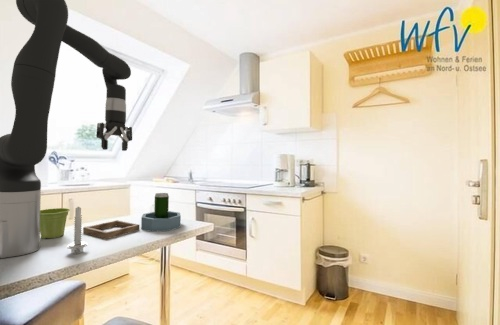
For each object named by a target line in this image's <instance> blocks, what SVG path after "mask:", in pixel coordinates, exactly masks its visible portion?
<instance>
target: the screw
mask: <svg viewBox="0 0 500 325" xmlns="http://www.w3.org/2000/svg"><path fill="white" fill-rule="evenodd" d="M74 211H75V216H74V219H73V220H74V223H73V224H74V225H73V227H74V234H73V239H74V240H73V242H71V243H69V244H68V245H67V246H66V248H67V249H70V251H71V254H73V255H76V254H77V255H78V254H81V253H84V248H86V247H88V245H89V244H88V243H87V242H86V241H82V233H83V231H82V230H83V228H82V220H83V219H82V216H83V215H82V208H81V207H80V206H76V207H75V210H74Z"/></svg>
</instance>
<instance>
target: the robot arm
mask: <svg viewBox="0 0 500 325" xmlns="http://www.w3.org/2000/svg"><path fill="white" fill-rule="evenodd" d="M15 3H16V7H17V10H18V12H19V13H20V14H21V16H22V17H23V18H24V19H25V20H26V21H27V22H29V23H30V24H32V25H34V29H33V32H32V33H31V35H30V37H29V39H28V40H27V41H26V42H25V44H24V45H23V47H22V48H21V49H20V51H19V52H18V54H17V55H16V57H15V60H14V62H13V66H12V67H13V68H12V73H11V80H10V81H11V82H10V86H11V87H10V88H11V92H12V98H13V100H14V101H13V102H14V105H15V107H14V108H15V114H14V120H13V121H14V122H13V124H12V129H11V132H10V133H6V134H4V135H1V136H0V259H4V258H10V257H11V258H12V257H17V256H24V255H28V254H31V253H34V252H36V251H38V250H39V249H40V247H41V246H40V244H41V235H40V210H41V199H42V198H41V190H42V181H41V179H40V178H39V177H38V176H37V173H36V165H38V164H40V162H42V161H43V160H44V158H45V157H46V154H47V150H48V123H49V115H50V111H51V103H52V97H53V92H54V87H55V81H56V76H57V74H56V72H57V66H58V60H59V56H60V50H61V46H62V42H63V43H64V44H66V45H68V46H69V47H71V48H73V49H74V50H75V51H76V52H78V53H79V54H81V55H82V56H84V58H86V59H87V60H88V61H89V62H91V63H92V64H94V65H95V66H96V67H98V68H101V69H102V77H103V80H104V84H105V87H106V100H105V107H104V108H105V111H104V112H105V115H104V116H105V117H104V118H105V119H104V121H105V123H104V122H98V123H97V125H96V138H97V139H100V140H101V146H100V147H101V149H102V150H108V148H109V147H108V145H109V143H108V142H109V140H108V139H109V138H110V137H111V136H117V137H119V138H120V139H121V141H122V143H121V151H123V152H126V151H127V150H128V148H129V146H128V145H129V144H128V143H129V142H132V141H133V127H132V126H126V122H127V119H126V118H127V102H126V100H127V96H126V95H127V93H126V87H125V86H124V85H122V84H118V81H119V80H120V81H121V80H122V81H123V80H126V79H127V80H128V79H129V78H130V77H131V75H132V70H131V67H130V66H129V64H128V63H127V62H126V61H125V60H123V59H122V58H120V57H119V56H116V55H115V54H113V53H111V52H110V51H109V50H107V49H106V48H105V47H104V46H103V45H102V44H100V43H99V42H98V41H97V40H95V39H94V38H92V37H91V36H90V35H87V34H85V33H83V32H81V31H79V30H78V29H75V28H73V27H72V26H70V25H68V20H69V8H68V5H67V2H66V0H15ZM105 129H106V130H105ZM104 130H105V131H104Z"/></svg>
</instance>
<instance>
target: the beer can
mask: <svg viewBox="0 0 500 325" xmlns="http://www.w3.org/2000/svg"><path fill="white" fill-rule="evenodd" d="M169 197H170V196H169V193H168V192H157V193H155V196H154V208H153V210H154V211H153V212H154V219H156V218H168V211H169V204H170V202H169Z"/></svg>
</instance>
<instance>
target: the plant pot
mask: <svg viewBox="0 0 500 325" xmlns="http://www.w3.org/2000/svg"><path fill="white" fill-rule="evenodd" d="M70 210H71V209H70V208H67V207H66V208H65V207H63V208H62V207H58V208H57V207H54V208H46V209H40V239H43V240H44V239H55V238H60V237H62V236H63V235H64V234H65V228H66V223H67V218H68V215H69V212H70Z"/></svg>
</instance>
